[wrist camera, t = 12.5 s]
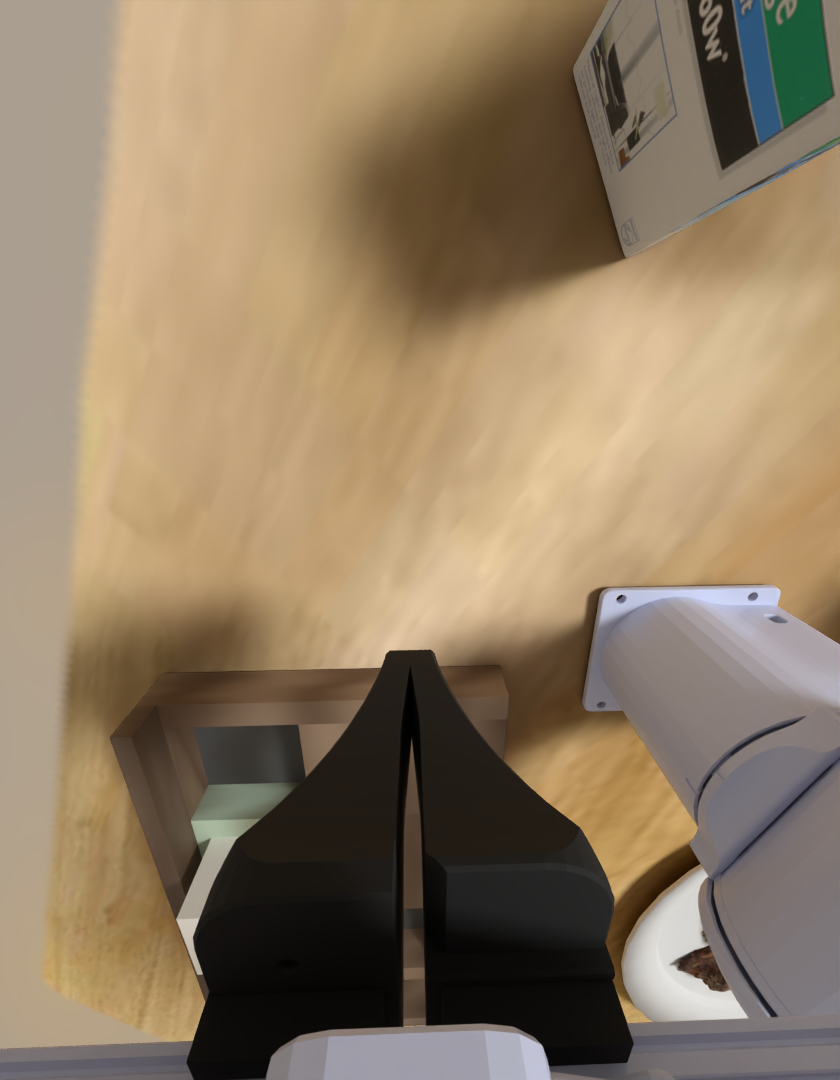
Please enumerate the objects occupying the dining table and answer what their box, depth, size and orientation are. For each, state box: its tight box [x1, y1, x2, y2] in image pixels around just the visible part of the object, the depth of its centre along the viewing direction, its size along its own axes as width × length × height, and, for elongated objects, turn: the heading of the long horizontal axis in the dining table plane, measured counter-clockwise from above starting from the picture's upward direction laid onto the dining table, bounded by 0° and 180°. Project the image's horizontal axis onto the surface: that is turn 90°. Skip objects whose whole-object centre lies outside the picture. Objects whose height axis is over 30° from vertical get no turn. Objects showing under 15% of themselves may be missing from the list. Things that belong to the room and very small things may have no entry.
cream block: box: [176, 837, 238, 975], centre depth 24 cm, size 5×5×4 cm
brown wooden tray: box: [110, 666, 509, 1026], centre depth 26 cm, size 19×27×4 cm
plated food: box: [621, 864, 748, 1022], centre depth 32 cm, size 30×30×3 cm
